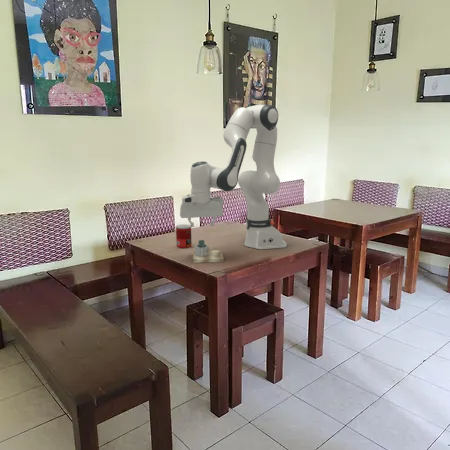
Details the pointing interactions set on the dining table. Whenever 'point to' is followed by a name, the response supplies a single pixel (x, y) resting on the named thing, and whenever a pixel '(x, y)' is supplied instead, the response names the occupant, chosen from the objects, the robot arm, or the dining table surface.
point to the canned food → (183, 236)
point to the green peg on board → (212, 257)
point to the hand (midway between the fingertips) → (202, 226)
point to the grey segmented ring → (201, 251)
